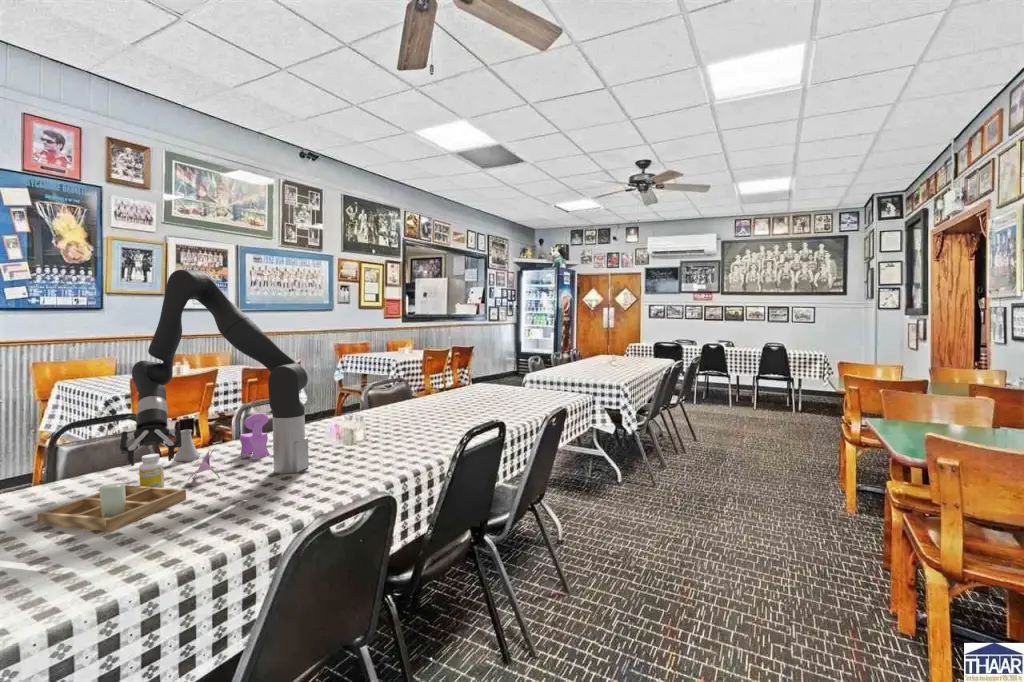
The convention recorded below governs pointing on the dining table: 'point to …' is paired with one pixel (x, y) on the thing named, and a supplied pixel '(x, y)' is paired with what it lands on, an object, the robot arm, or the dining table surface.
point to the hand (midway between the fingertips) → (151, 461)
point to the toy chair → (255, 436)
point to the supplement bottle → (151, 471)
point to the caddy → (89, 516)
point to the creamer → (112, 499)
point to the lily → (205, 464)
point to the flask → (186, 448)
